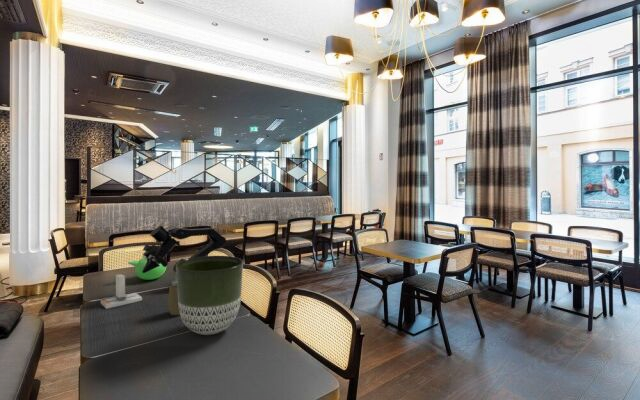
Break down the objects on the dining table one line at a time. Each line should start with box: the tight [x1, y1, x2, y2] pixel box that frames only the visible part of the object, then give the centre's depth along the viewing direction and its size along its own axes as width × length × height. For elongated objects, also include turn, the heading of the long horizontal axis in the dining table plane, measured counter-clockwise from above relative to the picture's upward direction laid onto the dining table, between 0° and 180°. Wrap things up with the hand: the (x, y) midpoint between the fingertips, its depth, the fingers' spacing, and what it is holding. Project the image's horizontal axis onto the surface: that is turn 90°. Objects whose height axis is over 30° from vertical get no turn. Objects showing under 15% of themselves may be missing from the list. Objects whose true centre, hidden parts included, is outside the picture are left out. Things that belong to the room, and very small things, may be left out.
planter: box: [175, 255, 244, 336], centre depth 125 cm, size 24×24×27 cm
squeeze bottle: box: [167, 274, 180, 316], centre depth 142 cm, size 8×8×18 cm
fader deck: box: [100, 292, 143, 310], centre depth 154 cm, size 15×9×2 cm, turn 138°
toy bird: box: [127, 254, 167, 281], centre depth 191 cm, size 18×17×15 cm
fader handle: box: [114, 273, 126, 301], centre depth 153 cm, size 3×6×11 cm, turn 47°
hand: (142, 272), depth 160 cm, fingers closed
